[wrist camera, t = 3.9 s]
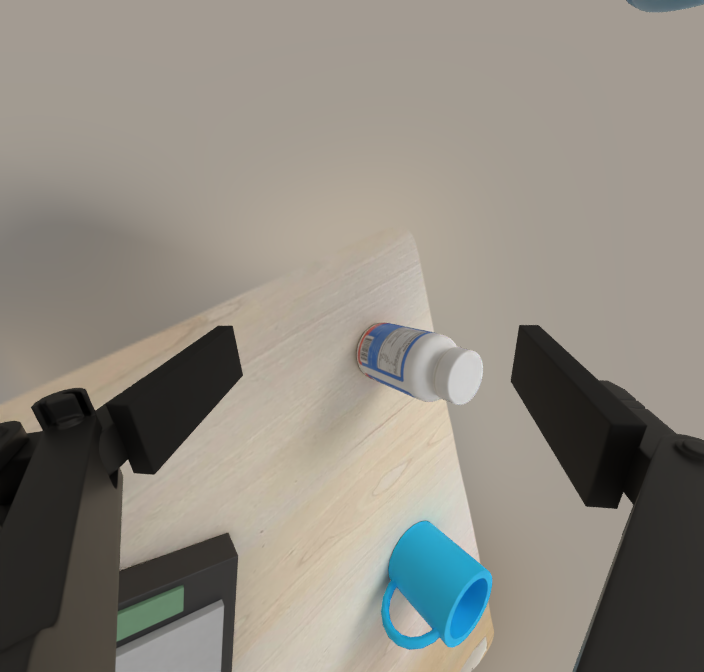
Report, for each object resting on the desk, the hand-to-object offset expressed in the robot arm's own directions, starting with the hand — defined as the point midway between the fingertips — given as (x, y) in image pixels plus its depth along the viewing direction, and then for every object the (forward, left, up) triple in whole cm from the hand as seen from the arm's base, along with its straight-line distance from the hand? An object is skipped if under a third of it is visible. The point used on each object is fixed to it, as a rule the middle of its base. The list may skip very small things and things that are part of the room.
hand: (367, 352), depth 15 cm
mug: (+30, +18, -11) cm, 37 cm away
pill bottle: (+3, +10, -11) cm, 16 cm away
